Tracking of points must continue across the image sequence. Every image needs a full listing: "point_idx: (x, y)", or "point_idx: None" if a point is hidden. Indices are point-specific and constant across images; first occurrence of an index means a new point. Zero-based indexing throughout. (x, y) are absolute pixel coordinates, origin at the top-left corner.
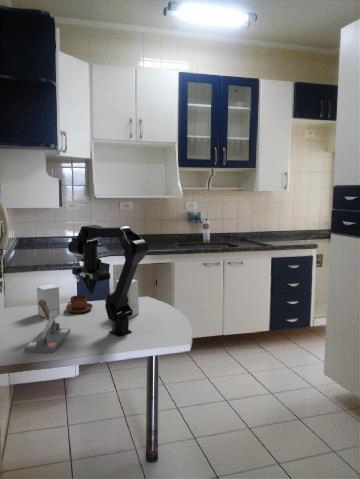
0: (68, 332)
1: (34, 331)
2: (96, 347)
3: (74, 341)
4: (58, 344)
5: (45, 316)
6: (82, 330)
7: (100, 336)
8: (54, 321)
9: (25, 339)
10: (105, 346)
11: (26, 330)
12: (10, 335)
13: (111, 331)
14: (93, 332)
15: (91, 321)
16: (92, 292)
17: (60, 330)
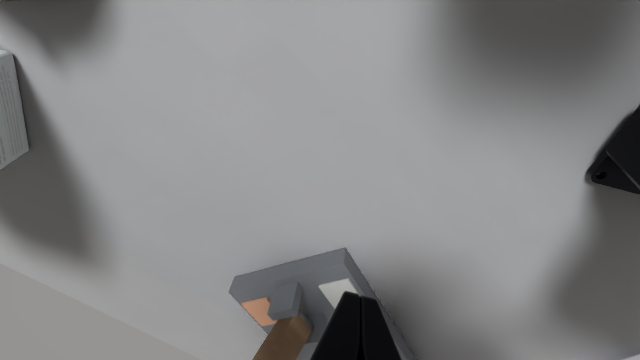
0: (357, 275)
1: (193, 286)
2: (587, 324)
3: (442, 308)
4: (410, 357)
5: (23, 149)
6: (387, 206)
7: (548, 233)
8: (283, 341)
9: (245, 339)
10: (633, 308)
11: (157, 288)
12: (166, 330)
13: (612, 178)
14: (472, 205)
15: (326, 53)
16: (378, 322)
17: (318, 291)
